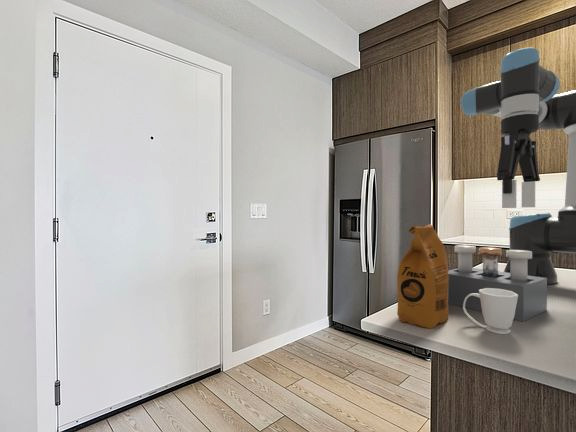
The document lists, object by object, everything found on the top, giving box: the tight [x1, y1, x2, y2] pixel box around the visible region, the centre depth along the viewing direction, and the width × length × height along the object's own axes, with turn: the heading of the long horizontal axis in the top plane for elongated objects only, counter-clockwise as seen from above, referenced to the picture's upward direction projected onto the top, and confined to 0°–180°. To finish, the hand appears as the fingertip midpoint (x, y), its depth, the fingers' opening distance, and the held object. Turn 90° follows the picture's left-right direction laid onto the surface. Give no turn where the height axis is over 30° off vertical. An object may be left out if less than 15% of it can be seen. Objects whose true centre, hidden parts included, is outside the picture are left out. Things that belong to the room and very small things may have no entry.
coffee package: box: [396, 223, 450, 330], centre depth 75 cm, size 10×12×22 cm
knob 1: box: [454, 244, 477, 274], centre depth 90 cm, size 5×5×8 cm
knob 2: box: [505, 249, 532, 283], centre depth 79 cm, size 5×5×8 cm
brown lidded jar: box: [478, 247, 503, 278], centre depth 85 cm, size 5×5×8 cm
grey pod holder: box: [448, 267, 548, 322], centre depth 85 cm, size 14×20×8 cm
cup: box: [462, 288, 518, 335], centre depth 69 cm, size 7×10×8 cm
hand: (519, 207), depth 79 cm, fingers open, 10 cm apart
